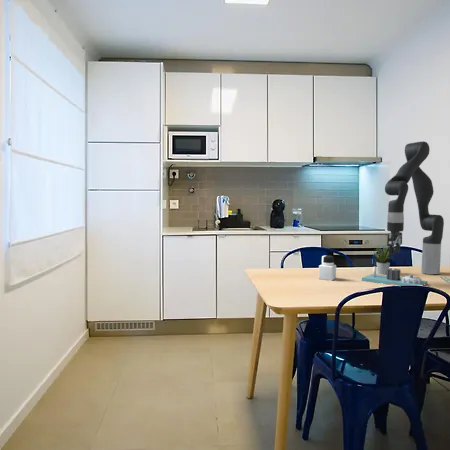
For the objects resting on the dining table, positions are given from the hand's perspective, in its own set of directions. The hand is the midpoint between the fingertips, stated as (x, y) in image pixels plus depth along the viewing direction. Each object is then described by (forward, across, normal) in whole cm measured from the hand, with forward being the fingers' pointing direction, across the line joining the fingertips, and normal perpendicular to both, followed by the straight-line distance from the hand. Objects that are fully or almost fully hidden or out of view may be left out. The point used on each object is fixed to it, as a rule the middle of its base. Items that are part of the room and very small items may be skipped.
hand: (394, 253), depth 202 cm
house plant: (+15, -21, -12) cm, 29 cm away
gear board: (+14, 0, 0) cm, 14 cm away
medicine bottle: (+14, +16, -28) cm, 35 cm away
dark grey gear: (+13, 0, 0) cm, 13 cm away
